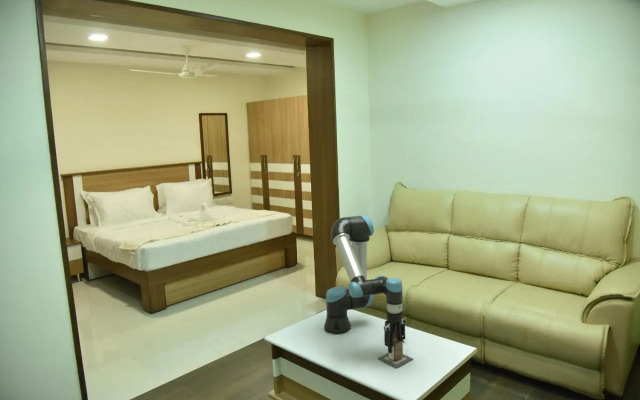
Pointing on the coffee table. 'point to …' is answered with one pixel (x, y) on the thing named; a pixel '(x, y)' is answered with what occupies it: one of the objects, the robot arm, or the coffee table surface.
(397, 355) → the walnut block
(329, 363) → the coffee table surface
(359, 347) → the coffee table surface
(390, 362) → the mat
